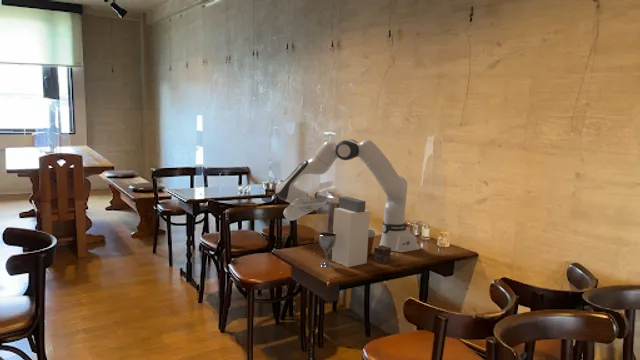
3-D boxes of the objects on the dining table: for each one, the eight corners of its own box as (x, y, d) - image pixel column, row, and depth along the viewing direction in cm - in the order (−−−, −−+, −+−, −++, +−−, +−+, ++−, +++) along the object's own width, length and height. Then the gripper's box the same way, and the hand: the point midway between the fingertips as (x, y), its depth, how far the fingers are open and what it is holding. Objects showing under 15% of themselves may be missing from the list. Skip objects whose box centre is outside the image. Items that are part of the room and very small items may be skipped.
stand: (330, 259, 244) (333, 197, 239) (348, 256, 251) (352, 195, 247) (348, 267, 234) (352, 202, 229) (367, 263, 241) (370, 200, 236)
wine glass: (328, 261, 242) (329, 231, 239) (338, 265, 235) (339, 235, 233) (314, 263, 237) (316, 233, 235) (324, 268, 231) (326, 237, 228)
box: (390, 262, 245) (391, 247, 244) (382, 264, 241) (383, 249, 240) (380, 259, 249) (381, 244, 248) (373, 261, 245) (374, 246, 244)
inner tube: (314, 198, 259) (314, 192, 258) (319, 197, 261) (319, 191, 260) (343, 206, 241) (343, 199, 240) (348, 205, 243) (348, 199, 242)
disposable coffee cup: (377, 255, 255) (379, 232, 253) (362, 257, 250) (363, 234, 249) (367, 250, 263) (368, 228, 262) (352, 252, 259) (353, 229, 257)
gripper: (286, 202, 263) (300, 193, 253) (316, 199, 276) (330, 190, 266) (289, 213, 262) (303, 204, 252) (319, 209, 275) (334, 201, 264)
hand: (317, 197), depth 259 cm, fingers open, 8 cm apart
